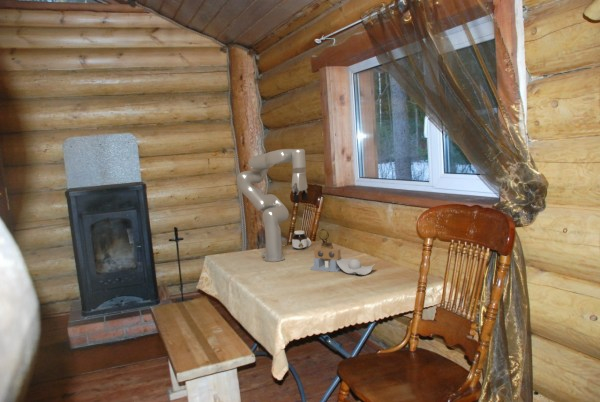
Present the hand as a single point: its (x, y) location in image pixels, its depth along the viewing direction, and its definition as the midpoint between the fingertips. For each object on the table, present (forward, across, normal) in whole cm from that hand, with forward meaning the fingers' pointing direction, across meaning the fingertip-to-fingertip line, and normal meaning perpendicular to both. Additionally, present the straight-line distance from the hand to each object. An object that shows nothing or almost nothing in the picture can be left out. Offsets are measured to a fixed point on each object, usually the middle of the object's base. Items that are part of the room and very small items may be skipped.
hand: (300, 201), depth 269 cm
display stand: (+36, +6, +18) cm, 41 cm away
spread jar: (+37, -38, -21) cm, 57 cm away
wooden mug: (+36, -10, +10) cm, 39 cm away
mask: (+37, +7, +35) cm, 51 cm away
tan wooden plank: (+30, +6, +18) cm, 36 cm away
